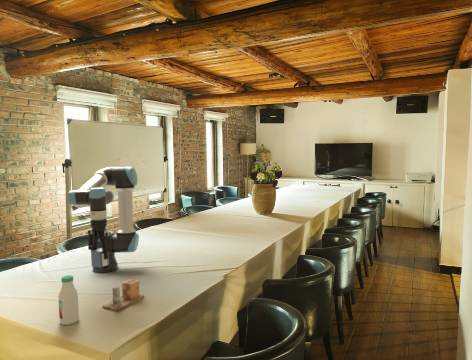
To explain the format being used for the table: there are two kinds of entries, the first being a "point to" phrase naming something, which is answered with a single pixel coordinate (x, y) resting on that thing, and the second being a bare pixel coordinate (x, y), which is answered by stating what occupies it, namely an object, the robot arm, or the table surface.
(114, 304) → the organizer
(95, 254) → the slate blue cube
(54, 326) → the table surface
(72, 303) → the milk bottle
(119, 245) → the robot arm
